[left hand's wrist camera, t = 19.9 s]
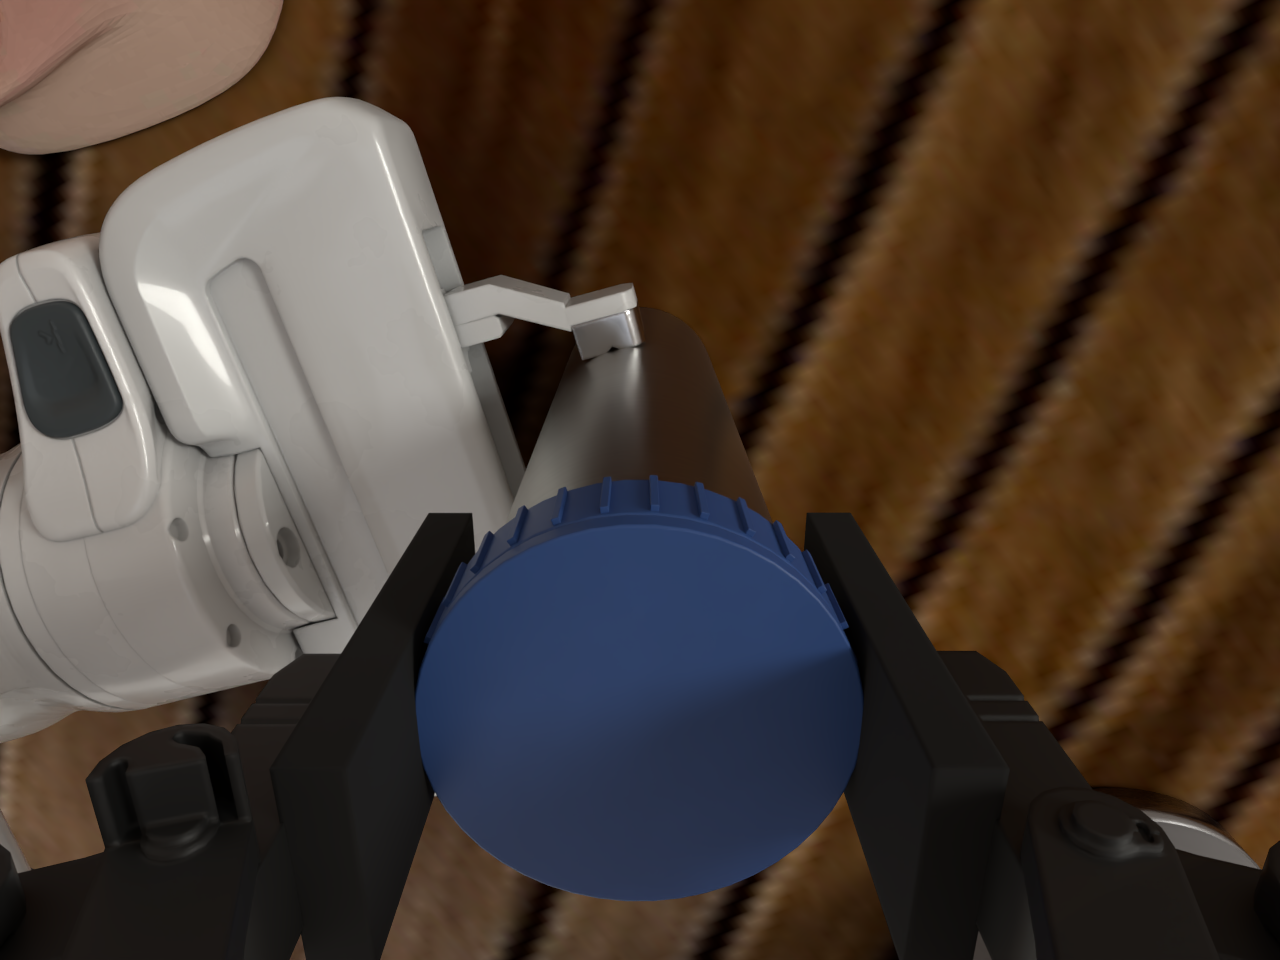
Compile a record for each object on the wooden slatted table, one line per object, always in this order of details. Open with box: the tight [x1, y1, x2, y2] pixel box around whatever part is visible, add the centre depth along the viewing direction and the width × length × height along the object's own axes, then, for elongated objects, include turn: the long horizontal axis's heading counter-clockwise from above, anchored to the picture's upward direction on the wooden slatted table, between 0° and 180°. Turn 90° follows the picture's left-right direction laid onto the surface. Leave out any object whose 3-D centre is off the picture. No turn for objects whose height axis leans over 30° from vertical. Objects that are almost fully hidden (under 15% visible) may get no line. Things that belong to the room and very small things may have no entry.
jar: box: [505, 307, 773, 524], centre depth 20 cm, size 5×5×19 cm
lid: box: [415, 475, 864, 901], centre depth 11 cm, size 6×6×2 cm
